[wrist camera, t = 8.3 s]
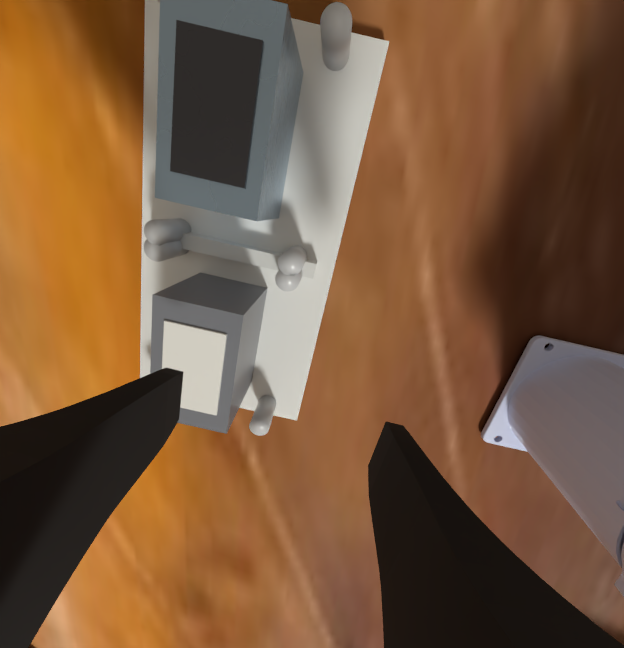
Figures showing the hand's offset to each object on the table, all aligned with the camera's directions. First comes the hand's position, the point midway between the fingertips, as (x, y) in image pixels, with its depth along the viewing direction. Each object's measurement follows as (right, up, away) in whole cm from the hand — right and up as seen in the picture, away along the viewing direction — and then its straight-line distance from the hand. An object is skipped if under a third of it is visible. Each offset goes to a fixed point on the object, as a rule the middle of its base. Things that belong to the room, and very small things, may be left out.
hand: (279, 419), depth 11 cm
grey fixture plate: (-3, +8, +7) cm, 11 cm away
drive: (-2, +12, +5) cm, 13 cm away
